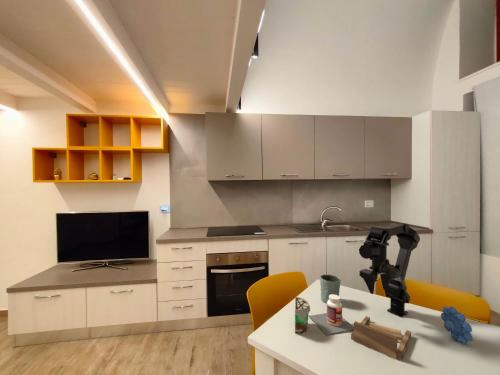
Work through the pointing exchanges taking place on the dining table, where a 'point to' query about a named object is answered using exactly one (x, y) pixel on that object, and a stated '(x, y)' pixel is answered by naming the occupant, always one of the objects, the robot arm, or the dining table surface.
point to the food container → (301, 315)
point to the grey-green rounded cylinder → (329, 286)
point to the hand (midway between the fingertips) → (378, 291)
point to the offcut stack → (388, 331)
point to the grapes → (456, 325)
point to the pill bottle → (334, 310)
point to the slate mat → (330, 329)
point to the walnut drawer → (379, 339)
